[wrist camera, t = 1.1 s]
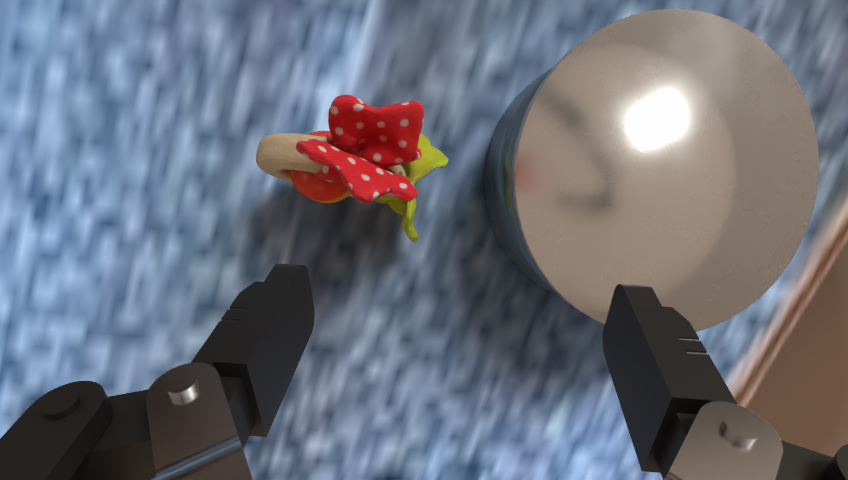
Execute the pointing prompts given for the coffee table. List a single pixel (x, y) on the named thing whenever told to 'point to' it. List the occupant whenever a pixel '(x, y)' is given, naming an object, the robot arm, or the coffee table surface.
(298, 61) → the coffee table surface
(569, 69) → the biscuit tin
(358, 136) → the bird rattle
